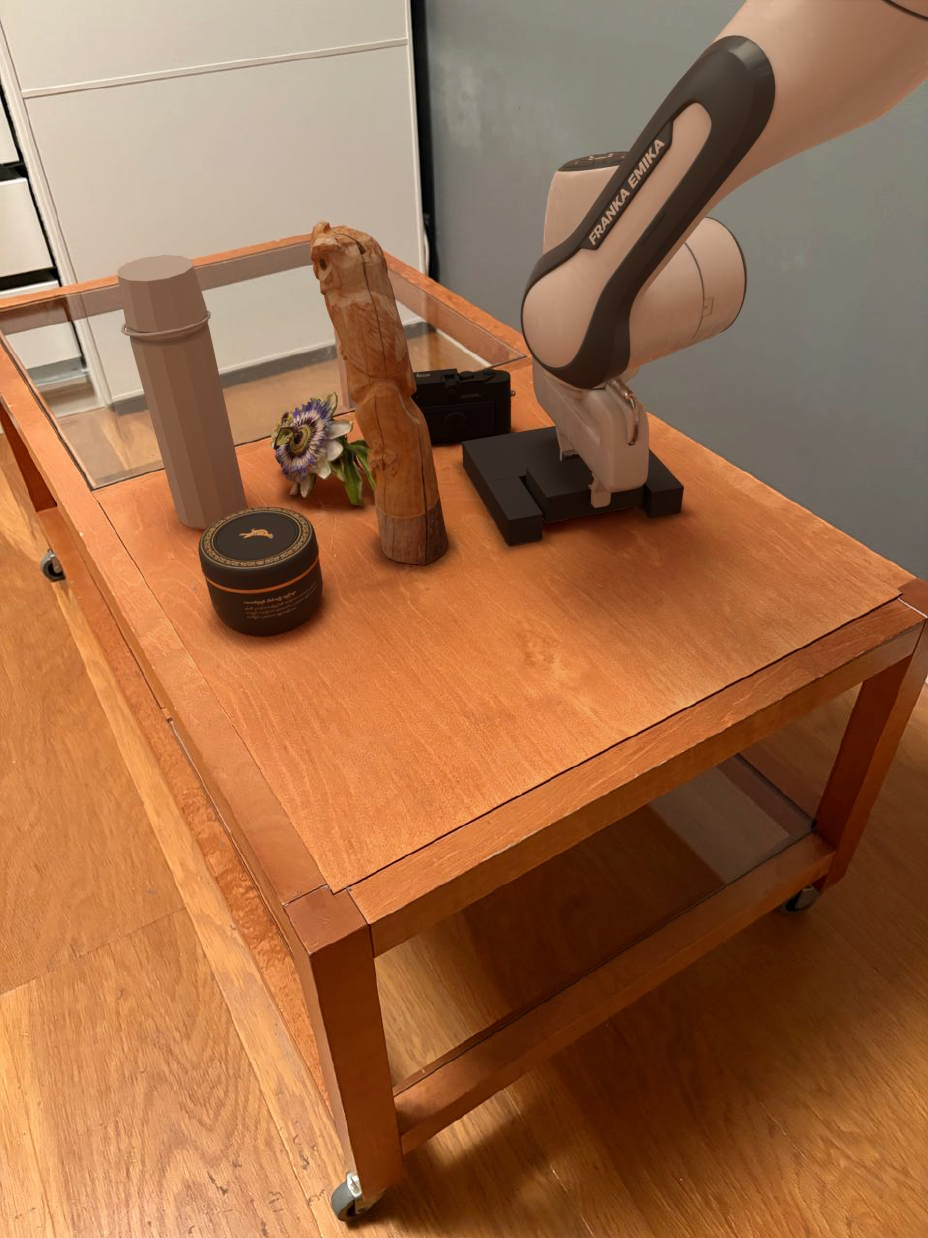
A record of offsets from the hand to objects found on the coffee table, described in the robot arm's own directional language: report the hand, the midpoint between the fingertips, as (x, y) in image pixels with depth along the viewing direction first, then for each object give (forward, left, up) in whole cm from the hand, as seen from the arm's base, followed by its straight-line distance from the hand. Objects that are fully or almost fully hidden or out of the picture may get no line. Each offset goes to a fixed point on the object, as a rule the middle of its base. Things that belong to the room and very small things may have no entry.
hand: (583, 483), depth 93 cm
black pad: (0, 0, -2) cm, 2 cm away
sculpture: (+19, +1, -3) cm, 19 cm away
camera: (+8, -20, -3) cm, 22 cm away
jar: (+32, +6, -3) cm, 33 cm away
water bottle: (+36, -12, -3) cm, 38 cm away
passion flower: (+23, -13, -3) cm, 27 cm away
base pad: (0, -4, -3) cm, 5 cm away
